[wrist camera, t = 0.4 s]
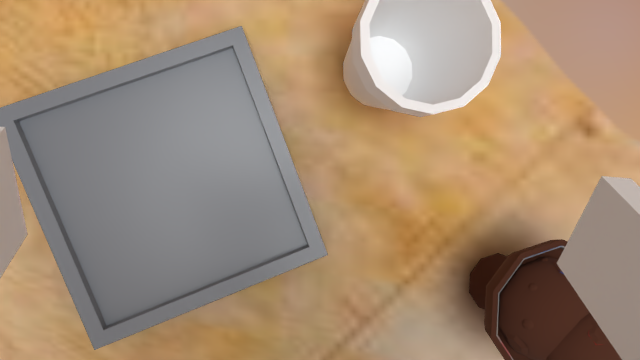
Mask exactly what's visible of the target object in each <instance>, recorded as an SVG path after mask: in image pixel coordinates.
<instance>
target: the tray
mask: <svg viewBox="0 0 640 360" xmlns="http://www.w3.org/2000/svg"><path fill="white" fill-rule="evenodd" d="M0 127H5V129H6V134H7V139H8V143H9V148H10V153H11V158H12V161H13V163H14V165H15V168H16V170H17V172H18V175H19V177H20V179H21V182H22V184H23V186H24V188H25V191H26V193H27V195H28V198H29V200H30V202H31V205H32V207H33V209H34V212H35V214H36V216H37V218H38V221H39V223H40V225H41V228H42V230H43V232H44V235H45V237H46V239H47V242H48V244H49V246H50V248H51V251H52V253H53V255H54V258H55V260H56V262H57V265H58V267H59V269H60V272H61V274H62V276H63V278H64V281H65V283H66V285H67V288H68V290H69V292H70V295H71V297H72V299H73V302H74V304H75V306H76V309H77V311H78V313H79V315H80V318H81V320H82V322H83V325H84V327H85V329H86V332H87V334H88V336H89V339H90V341H91V343H92V345H93V348H94V350H96V349H98V348H100V347H103V346H105V345H108V344H110V343H113V342H115V341H118V340H120V339H123V338H125V337H127V336H130V335H132V334H135V333H137V332H140V331H142V330H145V329H147V328H150V327H152V326H154V325H157V324H159V323H162V322H164V321H167V320H169V319H172V318H174V317H177V316H179V315H181V314H184V313H186V312H189V311H191V310H194V309H196V308H199V307H201V306H204V305H206V304H208V303H211V302H213V301H216V300H218V299H221V298H223V297H226V296H228V295H231V294H233V293H235V292H238V291H240V290H243V289H245V288H248V287H250V286H253V285H255V284H257V283H260V282H262V281H265V280H267V279H270V278H272V277H275V276H277V275H280V274H282V273H284V272H287V271H289V270H292V269H294V268H297V267H299V266H302V265H304V264H307V263H309V262H311V261H314V260H316V259H319V258H321V257H324V256H326V255H328V254H327V251H326V249H325V246H324V243H323V241H322V238H321V236H320V233H319V230H318V228H317V225H316V222H315V220H314V217H313V214H312V212H311V209H310V206H309V204H308V201H307V198H306V196H305V193H304V190H303V188H302V185H301V182H300V180H299V177H298V174H297V172H296V169H295V167H294V164H293V161H292V159H291V156H290V153H289V151H288V148H287V145H286V143H285V140H284V137H283V135H282V132H281V129H280V127H279V124H278V121H277V119H276V116H275V113H274V111H273V108H272V105H271V103H270V100H269V97H268V95H267V92H266V90H265V87H264V84H263V82H262V79H261V76H260V74H259V71H258V68H257V66H256V63H255V60H254V58H253V55H252V52H251V50H250V47H249V44H248V42H247V39H246V36H245V34H244V31H243V28H242V26H240V27H237V28H234V29H231V30H228V31H225V32H222V33H219V34H216V35H214V36H211V37H208V38H205V39H202V40H199V41H196V42H193V43H190V44H187V45H184V46H181V47H178V48H175V49H172V50H169V51H166V52H163V53H160V54H157V55H155V56H152V57H149V58H146V59H143V60H140V61H137V62H134V63H131V64H128V65H125V66H122V67H119V68H116V69H113V70H110V71H107V72H104V73H101V74H98V75H96V76H93V77H90V78H87V79H84V80H81V81H78V82H75V83H72V84H69V85H66V86H63V87H60V88H57V89H54V90H51V91H48V92H45V93H42V94H39V95H37V96H34V97H31V98H28V99H25V100H22V101H19V102H16V103H13V104H10V105H7V106H4V107H1V108H0Z"/></svg>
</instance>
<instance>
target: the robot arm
mask: <svg viewBox="0 0 640 360" xmlns="http://www.w3.org/2000/svg"><path fill="white" fill-rule="evenodd" d="M26 236H27V229H26V225H25V220H24V215H23V210H22V206H21V201H20V196H19V191H18V186H17V182H16V177H15V172H14V167H13V163H12V158H11V153H10V148H9V143H8V139H7V134H6V129H5V127H0V278H1V276H2V275H3V273H4V271H5V270H6V268H7V267H8V265H9V263H10V262H11V260H12V259H13V257H14V255H15V254H16V252H17V250H18V249H19V247H20V246H21V244H22V242H23V241H24V239H25V238H26ZM557 265H558V266H559V268H560V269H561V270H562V272H563V273H564V275H565V276H566V278H567V279H568V281H569V282H570V284H571V285H572V287H573V288H574V290H575V291H576V293H577V294H578V296H579V297H580V299H581V300H582V301H583V303H584V304H585V306H586V307H587V309H588V310H589V312H590V313H591V315H592V316H593V318H594V319H595V321H596V322H597V324H598V325H599V327H600V328H601V329H602V331H603V332H604V334H605V335H606V337H607V338H608V340H609V341H610V343H611V344H612V346H613V347H614V349H615V350H616V352H617V353H618V355H619V356H620V358H621V359H622V360H640V187H639V186H638V185H637V184H636V183H635V182H634V181H633V180H632V179H630V178H618V177H605V176H601V178H600V180H599V182H598V184H597V186H596V188H595V190H594V192H593V194H592V196H591V198H590V200H589V202H588V204H587V205H586V207H585V209H584V211H583V213H582V215H581V217H580V219H579V221H578V223H577V225H576V227H575V229H574V231H573V233H572V235H571V237H570V239H569V240H568V242H567V244H566V246H565V248H564V250H563V252H562V254H561V256H560V258H559V260H558V262H557Z"/></svg>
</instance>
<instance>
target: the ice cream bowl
mask: <svg viewBox="0 0 640 360" xmlns="http://www.w3.org/2000/svg"><path fill="white" fill-rule="evenodd" d="M566 244H567V241H565V240H550V241H547V242H544V243H541V244H538V245H535V246H532V247H529V248H526V249H523V250H520V251H517V252H514V253H512V254H510V255H508V256H504V255H501V254H499V253H497V254H494V255H491V256H488V257H485V258H482V259H481V260H480V261H479V262H478V264H477V265H476V267H475V268H474V269H473V271H472V272H471V273H470V288H469V293H470V294H471V296H472V297H473V299H474V300H475V302H476V303H477V305H478V306H479V307H480V308H483V309H485V319H484V324H485V330H486V332H487V333H488V335H489V336H490V338H491V339H492V341H493V343H494V344H495V346H496V347H497V349H498V350H499V352H500V353H501V355H502V356H503V358H504V359H505V360H622V359H621V358H620V356H619V355H618V353H617V352H616V350H615V349H614V347H613V346H612V344H611V343H610V341H609V340H608V338H607V337H606V335H605V334H604V332H603V331H602V329H601V328H600V327H599V325H598V324H597V322H596V321H595V319H594V318H593V316H592V315H591V313H590V312H589V310H588V309H587V307H586V306H585V304H584V303H583V301H582V300H581V299H580V297H579V296H578V294H577V293H576V291H575V290H574V288H573V287H572V285H571V284H570V282H569V281H568V279H567V278H566V276H565V275H564V273H563V272H562V270H561V269H560V268H559V266H558V265H557V262H558V260H559V258H560V256H561V254H562V252H563V250H564V248H565V246H566Z"/></svg>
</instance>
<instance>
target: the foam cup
mask: <svg viewBox="0 0 640 360" xmlns="http://www.w3.org/2000/svg"><path fill="white" fill-rule="evenodd" d="M500 57H501V22H500V20H499V18H498V16H497V13H496V11H495V9H494V7H493V5H492V2H491V0H365V2H364V4H363V6H362V8H361V11H360V13H359V15H358V17H357V20H356V22H355V24H354V26H353V29H352V40H351V43H350V45H349V48H348V51H347V54H346V56H345V59H344V62H343V80H344V82H345V84H346V86H347V88H348V90H349V92H350V94H351V95H352V96H353V97H354V98H355V99H357V100H358V101H359V102H360V103H362V104H363V105H366V106H371V107H376V108H380V109H387V110H391V111H396V112H400V113H405V114H409V115H414V116H418V117H423V116H428V115H432V114H436V113H440V112H444V111H448V110H452V109H456V108H460V107H464V106H465V105H466V104H467V103H468V102H470V101H471V100H472V99H473V98H474V97H475V96H476V95H478V94H479V93H480V92H481V91H482V90H483V89H484V88H486V87H487V86H488V84H489V82H490V80H491V77H492V75H493V73H494V70H495V68H496V66H497V64H498V61H499V59H500Z"/></svg>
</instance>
